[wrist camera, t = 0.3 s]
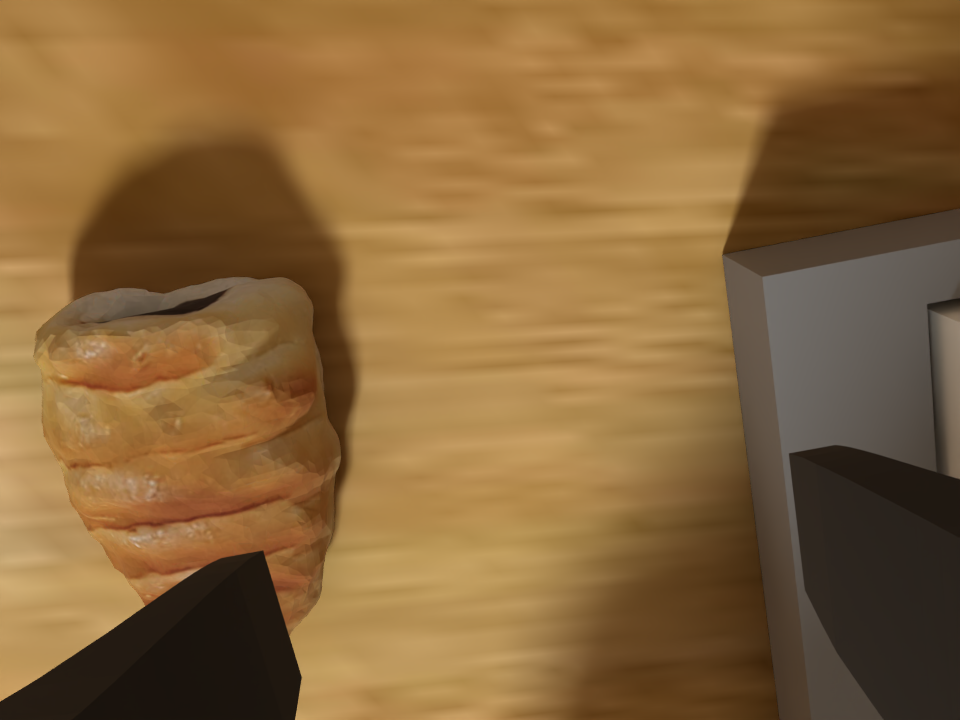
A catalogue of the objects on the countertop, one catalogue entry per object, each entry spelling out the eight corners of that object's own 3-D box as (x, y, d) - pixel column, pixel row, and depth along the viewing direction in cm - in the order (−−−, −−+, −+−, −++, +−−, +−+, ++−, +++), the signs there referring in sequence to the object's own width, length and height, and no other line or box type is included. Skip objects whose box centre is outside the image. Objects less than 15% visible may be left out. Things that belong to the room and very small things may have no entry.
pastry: (386, 595, 23) (365, 687, 19) (145, 628, 23) (79, 723, 19) (312, 252, 20) (272, 281, 16) (43, 295, 21) (-55, 333, 17)
